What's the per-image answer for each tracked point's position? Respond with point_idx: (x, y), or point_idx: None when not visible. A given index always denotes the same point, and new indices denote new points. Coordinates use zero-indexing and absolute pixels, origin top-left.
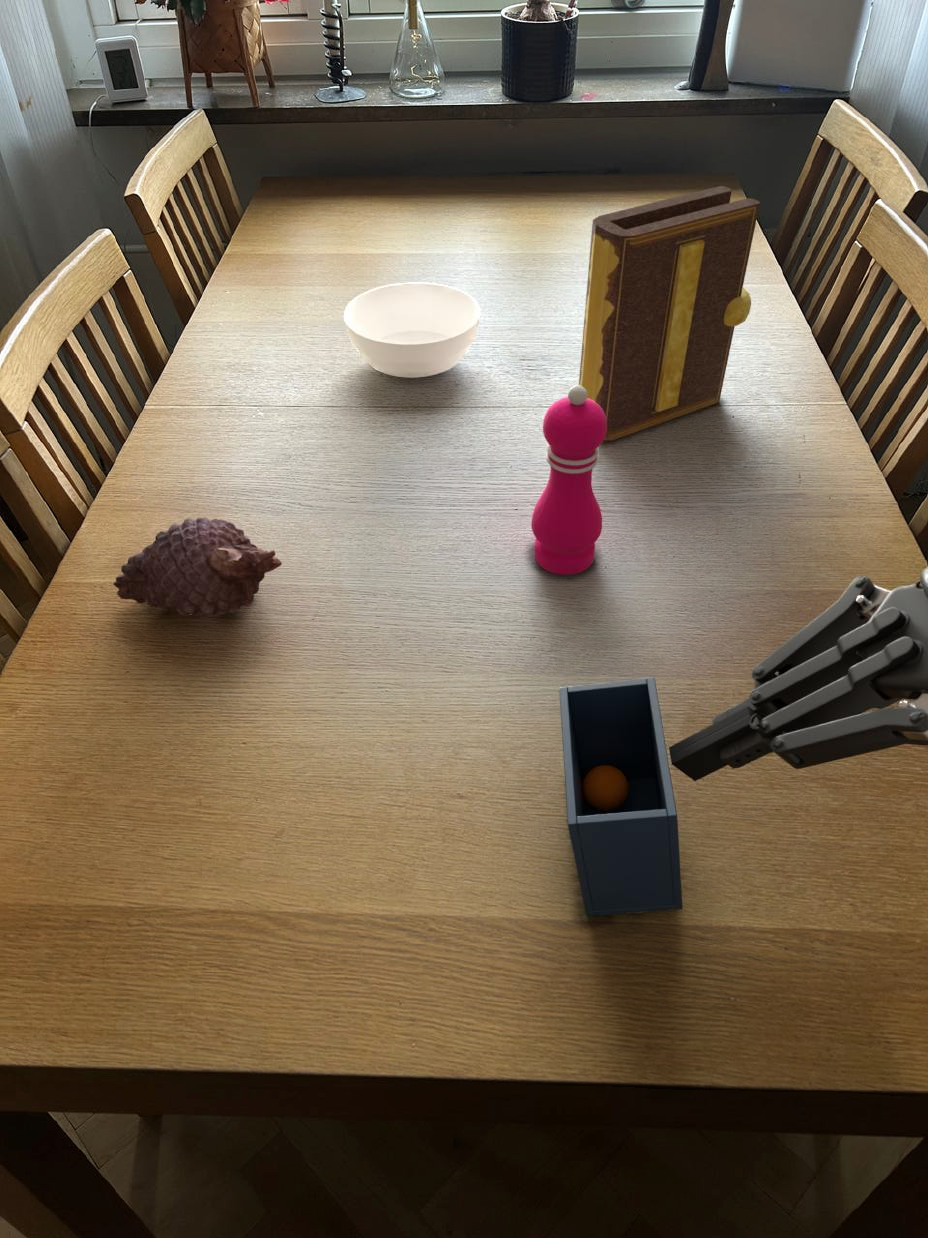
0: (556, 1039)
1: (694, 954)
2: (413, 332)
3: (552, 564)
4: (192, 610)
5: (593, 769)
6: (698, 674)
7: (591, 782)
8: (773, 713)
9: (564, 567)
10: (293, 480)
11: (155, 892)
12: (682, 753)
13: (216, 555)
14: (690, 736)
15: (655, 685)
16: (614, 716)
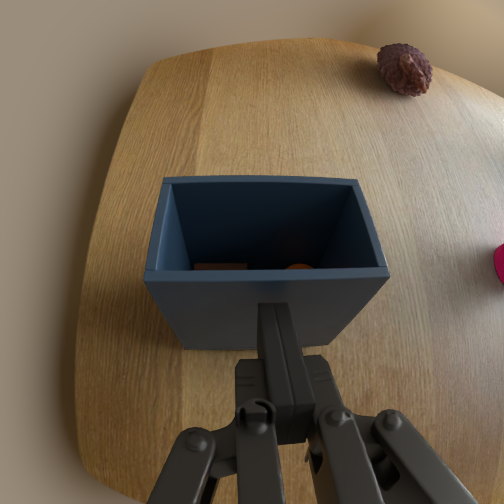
0: (105, 251)
1: (156, 356)
2: None
3: (499, 254)
4: (379, 65)
5: (312, 268)
6: (437, 378)
7: (296, 266)
8: (276, 446)
9: (499, 263)
10: (481, 124)
11: (216, 75)
12: (268, 313)
13: (405, 54)
14: (292, 323)
15: (376, 276)
16: (348, 257)
